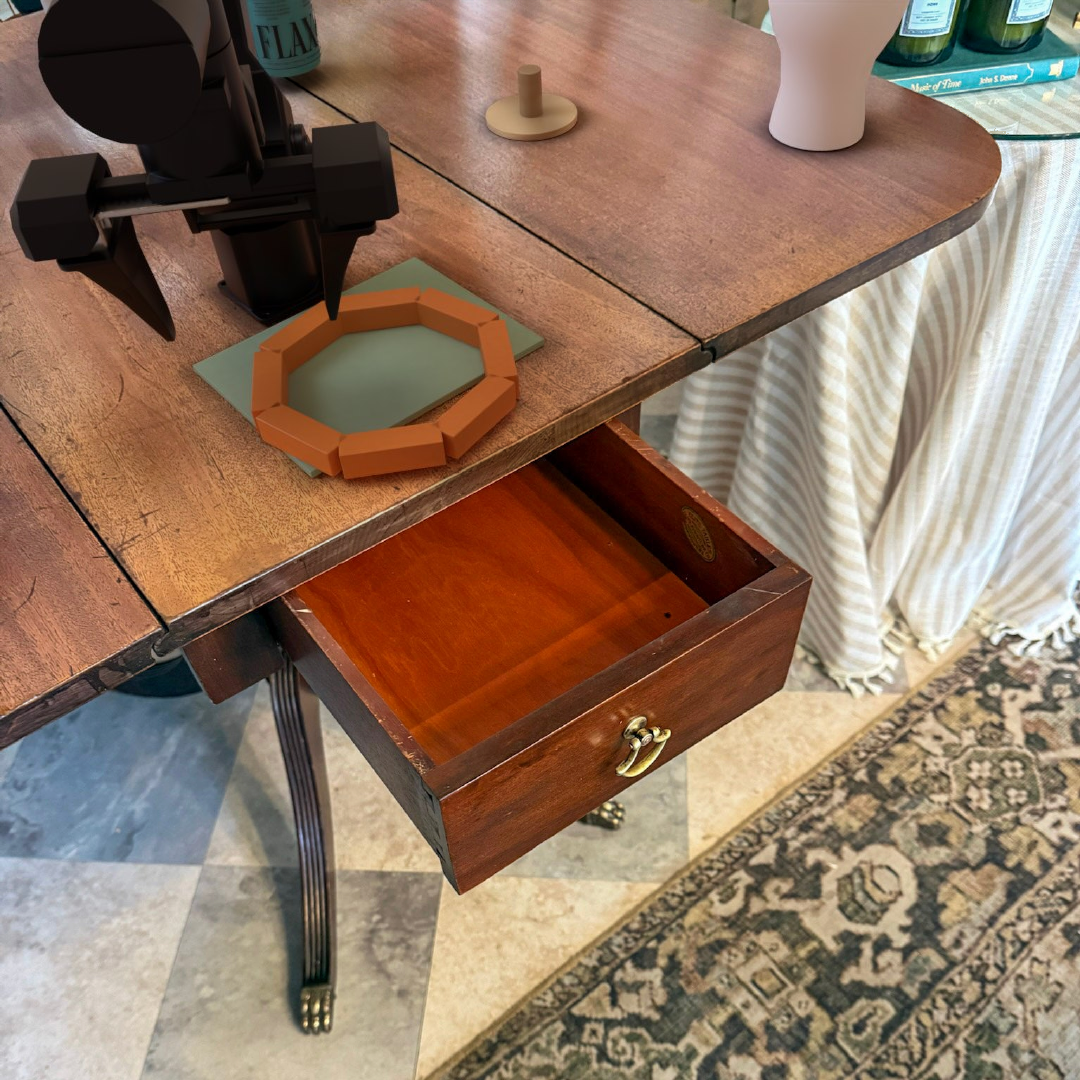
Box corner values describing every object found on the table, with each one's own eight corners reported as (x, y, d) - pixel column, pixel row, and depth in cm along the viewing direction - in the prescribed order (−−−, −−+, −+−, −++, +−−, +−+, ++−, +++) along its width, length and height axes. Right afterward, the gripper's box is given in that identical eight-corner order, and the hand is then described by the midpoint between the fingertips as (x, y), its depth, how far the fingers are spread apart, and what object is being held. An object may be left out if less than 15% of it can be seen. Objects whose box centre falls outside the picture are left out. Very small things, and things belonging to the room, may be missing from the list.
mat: (312, 478, 58) (310, 472, 57) (194, 371, 65) (191, 365, 65) (544, 344, 65) (544, 338, 65) (415, 262, 73) (414, 256, 72)
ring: (255, 492, 56) (247, 469, 55) (262, 329, 67) (255, 306, 66) (532, 452, 58) (531, 429, 56) (496, 299, 68) (494, 276, 67)
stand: (527, 150, 84) (524, 98, 80) (467, 120, 88) (462, 70, 85) (596, 118, 87) (596, 67, 84) (535, 91, 91) (533, 42, 88)
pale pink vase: (839, 93, 88) (874, -102, 77) (906, 146, 81) (955, -61, 70) (729, 115, 86) (749, -82, 75) (788, 170, 79) (820, -38, 68)
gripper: (363, -34, 52) (404, 235, 64) (-4, 3, 51) (106, 271, 62) (374, 49, 45) (419, 337, 56) (-57, 95, 43) (80, 381, 55)
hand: (253, 326), depth 58 cm, fingers open, 9 cm apart
